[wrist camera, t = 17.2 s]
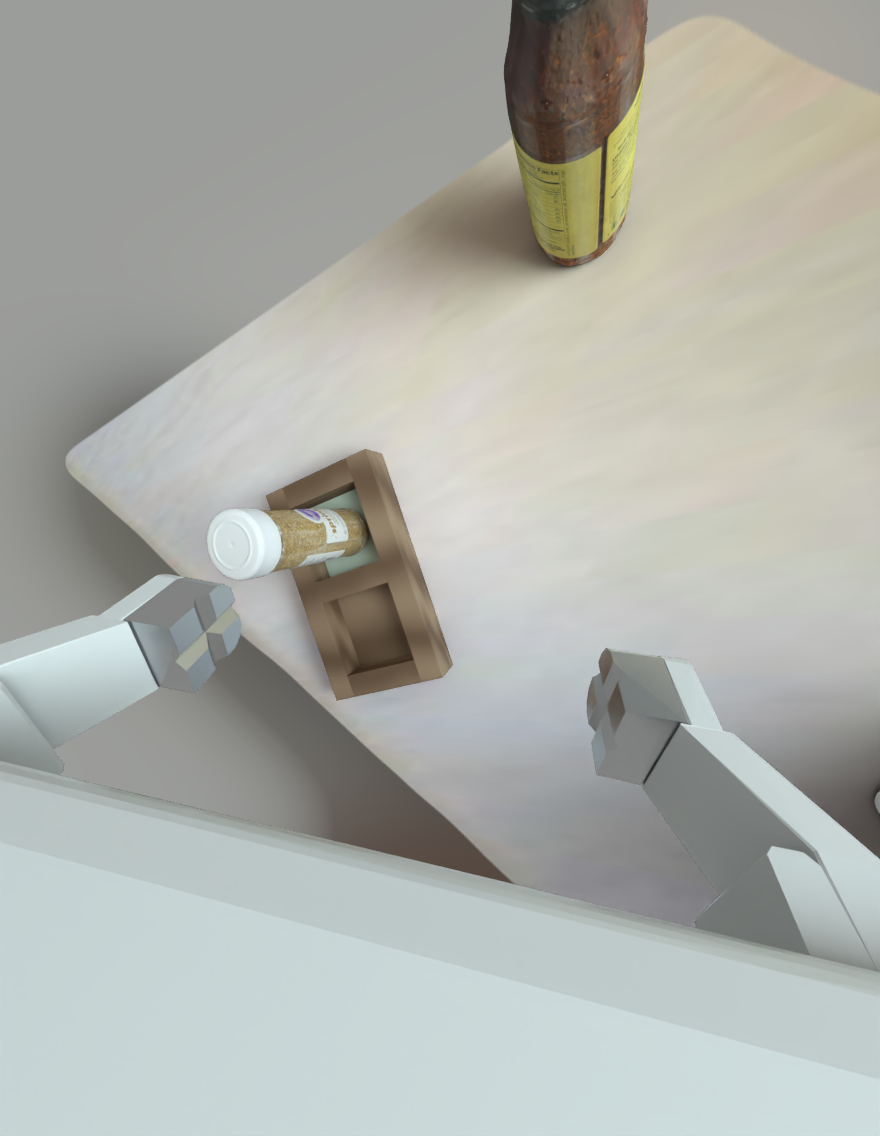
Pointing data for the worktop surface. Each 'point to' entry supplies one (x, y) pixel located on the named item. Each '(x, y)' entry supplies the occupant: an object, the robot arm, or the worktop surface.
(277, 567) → the sprinkles bottle
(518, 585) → the worktop surface
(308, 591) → the spice caddy
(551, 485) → the worktop surface
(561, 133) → the sauce bottle
